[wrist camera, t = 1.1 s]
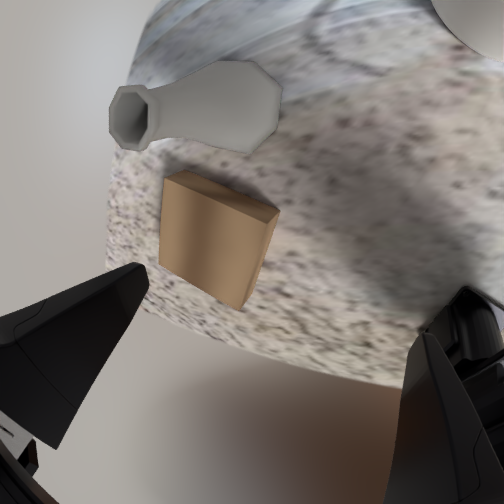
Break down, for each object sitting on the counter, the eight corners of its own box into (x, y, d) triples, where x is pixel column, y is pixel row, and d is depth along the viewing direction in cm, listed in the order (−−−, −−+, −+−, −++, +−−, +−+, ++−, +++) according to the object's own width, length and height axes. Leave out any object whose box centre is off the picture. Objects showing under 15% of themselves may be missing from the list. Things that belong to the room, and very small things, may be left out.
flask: (184, 128, 21) (80, 156, 13) (215, 47, 16) (104, 32, 9) (257, 170, 20) (165, 222, 12) (301, 82, 16) (219, 63, 8)
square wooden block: (282, 209, 21) (266, 224, 19) (253, 291, 26) (238, 311, 24) (187, 168, 23) (164, 177, 21) (177, 249, 28) (158, 264, 26)
